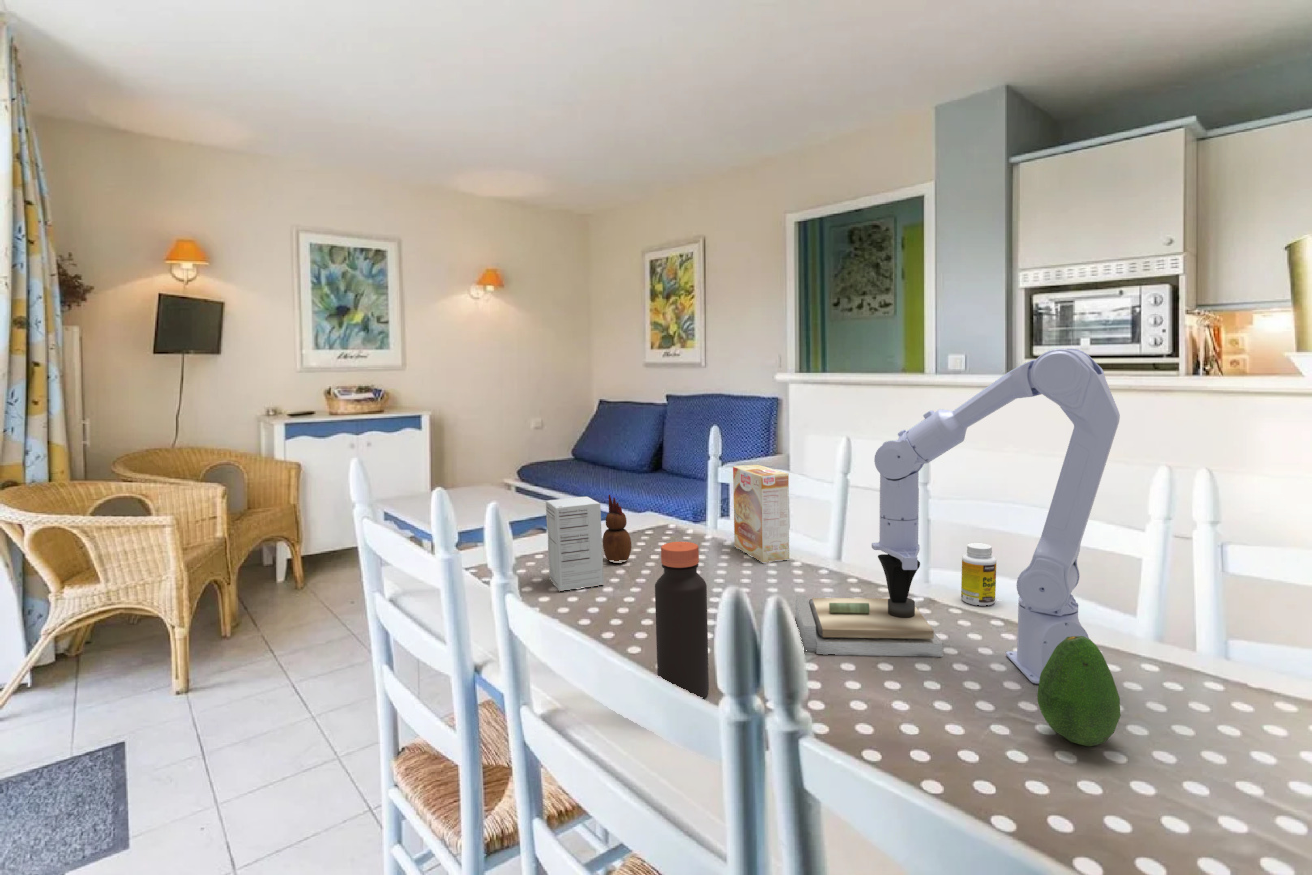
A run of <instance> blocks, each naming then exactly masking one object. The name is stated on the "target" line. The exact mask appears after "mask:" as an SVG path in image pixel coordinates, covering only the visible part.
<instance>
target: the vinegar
mask: <svg viewBox="0 0 1312 875" xmlns="http://www.w3.org/2000/svg"><path fill="white" fill-rule="evenodd" d="M699 548H700V547H699V545H698V544H696V543H694V542H690V541H672V542H667V543H663V544H662V545H661V546H660V559H661V560H660V561H661V567H662V569H663V574H662V575H661V576H660V577H659V578H658V579H657V580H656V582H655V584H654V599H655V600H654V601H655V602H654V604H655V635H656V636H655V637H656V639H655V640H656V669H657V671H656V673H657V675H658V676H661V677H662V678H663V679H665V680H667V681H669V682H671V683H672V684H676V685H677V686H679V687H681V688H683V689H686V690H688V691H689V692H690V693H694V694H696V695H697V696H700V697H703V699H705V698H706V697H707V696H708V694H709V689H710V684H709V681H710V679H709V676H710V675H709V640H708V639H709V638H708V633H709V632H708V627H709V626H708V595H707V594H708V590H707V588H708V587H707V586H708V585H707V582H706V581H705V579H704V578H703V577H702V576H701V574H699V573H698V571H697V570H698V568H699V562H700V554H699V552H700V550H699Z"/></svg>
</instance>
